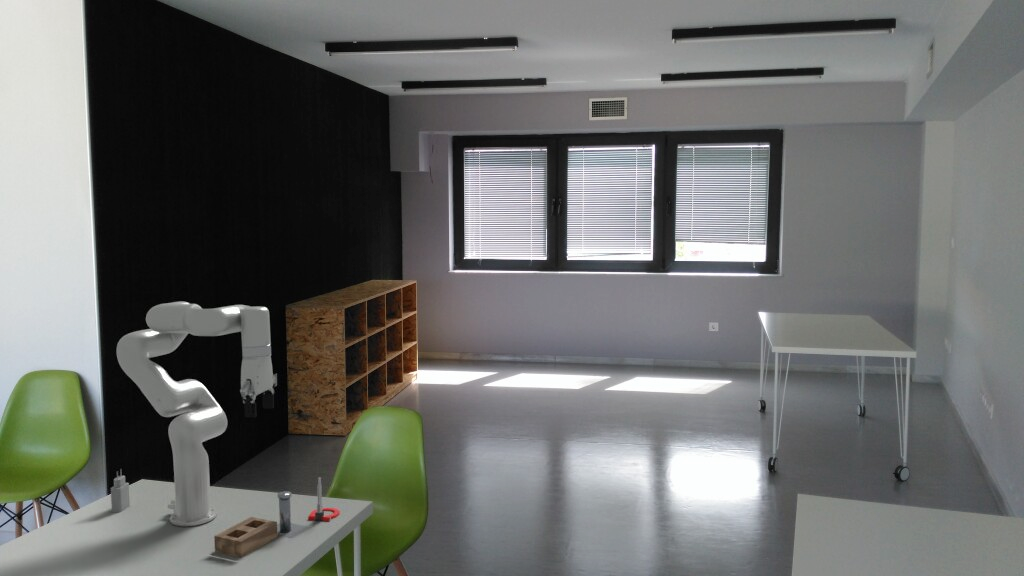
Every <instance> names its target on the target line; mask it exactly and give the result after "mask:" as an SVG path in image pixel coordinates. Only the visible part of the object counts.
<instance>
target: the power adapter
mask: <svg viewBox="0 0 1024 576" xmlns="http://www.w3.org/2000/svg"><path fill="white" fill-rule="evenodd" d="M119 473H120V475H119ZM122 473H123V472H122V468H120V472H119V471H116V477H115V478H114V479H113V486H112V487H110V499H111V500H110V502H111V512H112V513H122V512H123V511H125V510H126V509H127V508H130V507H131V504H130V503H131V502H130V501H131V500H130V483H129V482H126V476H125V475H122Z"/></svg>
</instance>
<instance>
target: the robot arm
mask: <svg viewBox="0 0 1024 576" xmlns="http://www.w3.org/2000/svg"><path fill="white" fill-rule="evenodd" d="M145 322H146V324H147V327H149V328H147V329H141V330H136V331H133V332H130V333H127V334H125V335H123V336H122V337H121V338H120V339H119V341H118V342H117V345H116V357H117V362H118V364H119V366H120V368H121V369H122V371H123V372H124V373H125V375H126V376H127V377H128V378H130V379H131V380H132V382H134V383H135V384H136V386H137V387H138V389H140V391H141V393H142V394H143V395H144V396H145V398H146V399H147V400H148V402H149V403H150V405H151V406H152V407H153V409H154V410H155V411H156V412H157V413H158V414H159V415H160V416H161V417H163V418H164V417H165V418H171V417H175V416H176V417H175V418H174V419H172V421H171V422H170V424H169V425H168V432H167V433H168V438H169V442H170V445H171V450H172V460H173V461H172V462H173V473H174V475H173V480H174V499H172V500H171V501H170V503H169V504H167V509H170V510H173V513H172V514H171V515H170V517H169V521H170V523H171V524H172V525H173V526H174V525H175V526H178V527H194V526H199V525H203V524H206V523H208V522H210V521H213V520H215V518H216V517H217V510H216V509H215V508H214V507H211V483H210V480H211V479H210V464H209V463H210V461H209V455H208V452H207V450H206V449H205V447H204V445H203V442H207V441H208V440H211V439H213V438H216V437H219V436H221V435H222V434H223V433H225V432H226V430H227V428H228V418H227V415H226V412H225V411H224V410H223V408H222V407H221V405H220V404H219V402H218V401H217V400H216V399H215V397H214V396H213V395H212V393H211V392H210V391H209V390H208V388H207V387H206V386H205V385H204V384H203V383H202V382H200V381H199V380H197V379H192V378H186V379H182V380H179V381H176V380H174V379H173V378H172V377H171V376H170V375H169V374H168V372H167V370H165V369H164V367H162V366H161V365H159V364H158V363H156V362H154V361H152V360H151V358H155V357H159V356H163V355H164V356H165V355H167V354H170V353H172V352H174V351H175V350H176V349H178V347H179V346H180V345H182V344H181V343H182V342H183V341H184V339H186V337H187V336H188V334H190V335H192V336H198V337H218V336H224V335H229V334H233V333H239V332H240V333H241V348H242V349H241V350H242V351H241V352H242V360H241V367H240V389H239V392H240V395H241V399H242V403H243V405H244V407H243V408H244V417H245V418H253V419H254V418H257V415H258V414H257V402H255V400H256V399H257V398H256V397H257V396H258V395H260V394H262V395H261V398H262V408H263V409H270V410H271V409H274V408H275V396H274V394H275V386H276V384H275V383H276V376H275V375H274V373H273V363H272V357H271V356H272V346H271V345H272V342H271V322H270V311H269V309H268V307H266V306H261V305H260V306H258V305H257V306H250V305H244V304H234V305H227V306H221V307H215V308H202V307H201V306H200V305H199V304H197V303H190V302H187V301H181V300H180V301H173V302H168V303H160V304H157V305H155V306H152V307H151V308H150V309H149V310H148V311H147V312H146V317H145Z"/></svg>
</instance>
